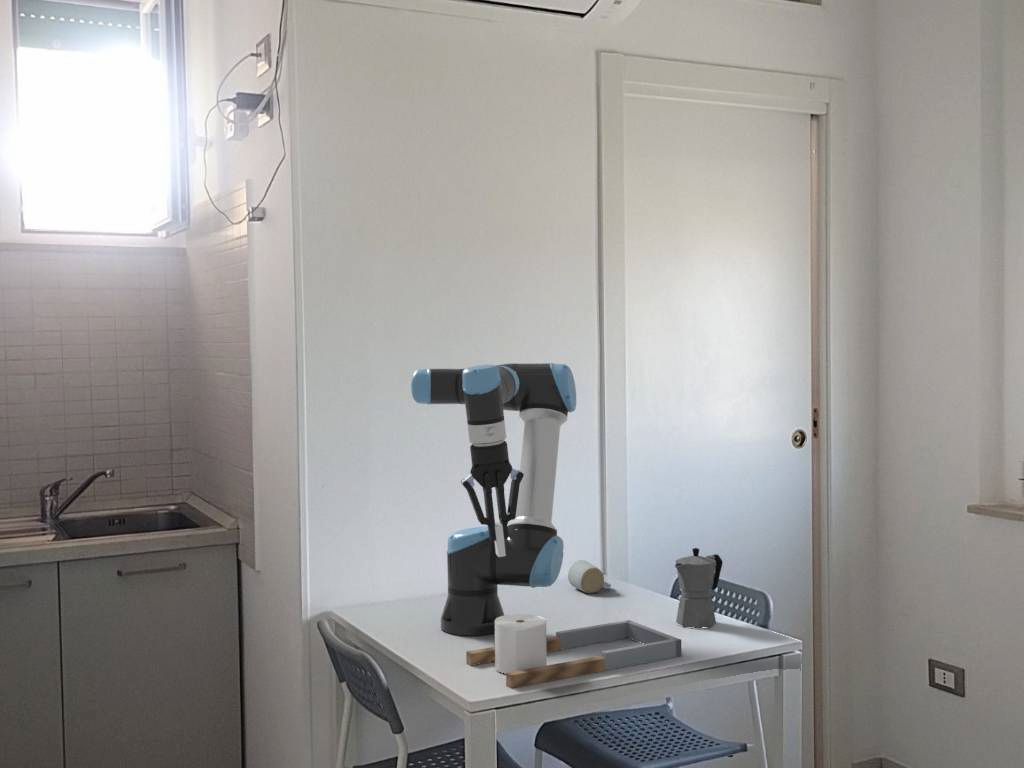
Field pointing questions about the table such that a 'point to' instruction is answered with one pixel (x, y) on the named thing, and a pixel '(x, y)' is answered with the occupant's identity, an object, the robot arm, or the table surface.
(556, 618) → the table surface
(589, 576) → the ceramic mug
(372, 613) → the table surface
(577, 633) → the tray
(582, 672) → the slot lane
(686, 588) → the coffeepot
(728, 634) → the table surface
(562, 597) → the table surface
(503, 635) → the toilet tissue
